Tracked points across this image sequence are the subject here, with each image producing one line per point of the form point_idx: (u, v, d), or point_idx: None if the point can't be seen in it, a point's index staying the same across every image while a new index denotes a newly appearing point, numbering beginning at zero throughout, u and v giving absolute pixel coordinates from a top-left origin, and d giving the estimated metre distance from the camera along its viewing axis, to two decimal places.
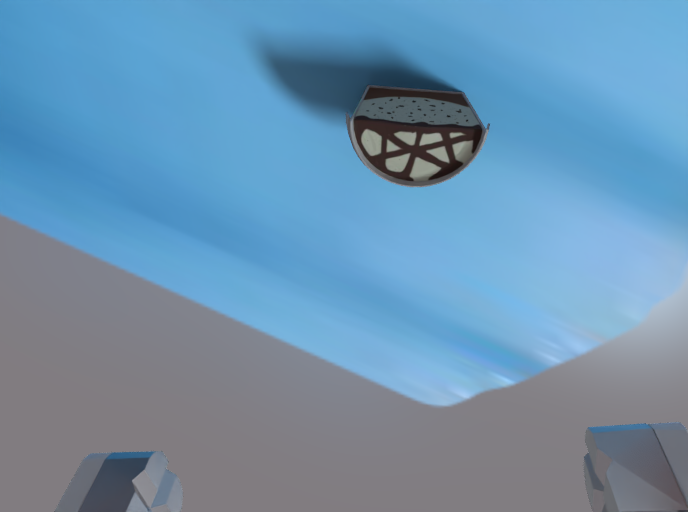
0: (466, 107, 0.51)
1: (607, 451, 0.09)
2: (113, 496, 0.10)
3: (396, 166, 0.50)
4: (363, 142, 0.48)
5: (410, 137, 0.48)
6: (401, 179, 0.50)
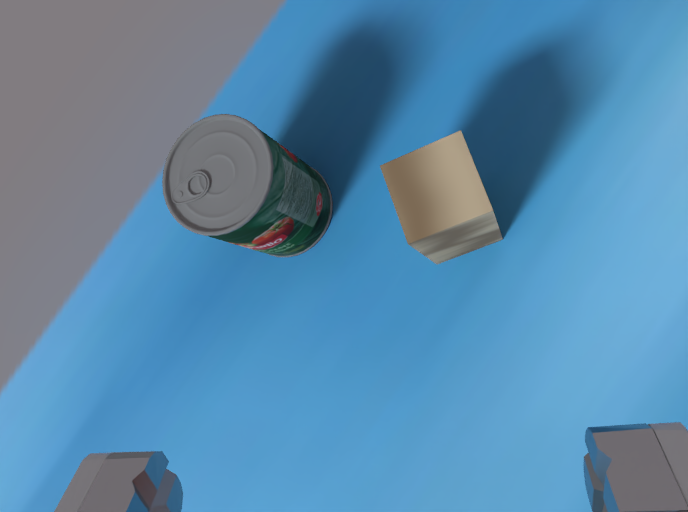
0: None
1: (607, 451, 0.09)
2: (113, 496, 0.10)
3: None
4: None
5: None
6: None
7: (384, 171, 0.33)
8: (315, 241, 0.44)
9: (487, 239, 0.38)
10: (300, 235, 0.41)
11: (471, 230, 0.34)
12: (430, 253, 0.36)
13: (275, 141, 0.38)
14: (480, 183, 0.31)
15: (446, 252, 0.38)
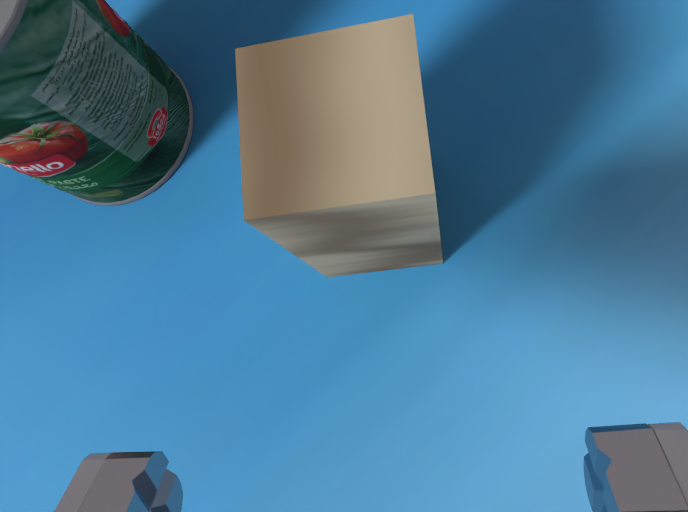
0: None
1: (607, 451, 0.09)
2: (113, 496, 0.10)
3: None
4: None
5: None
6: None
7: (240, 62, 0.16)
8: (146, 190, 0.26)
9: (416, 256, 0.22)
10: (108, 170, 0.24)
11: (386, 229, 0.17)
12: (307, 254, 0.20)
13: None
14: (423, 130, 0.14)
15: (340, 260, 0.21)
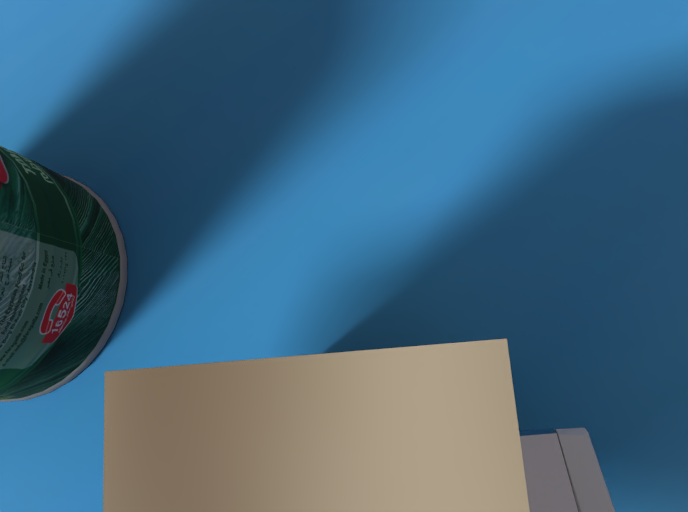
0: None
1: None
2: None
3: None
4: None
5: None
6: None
7: (114, 405, 0.07)
8: (54, 385, 0.18)
9: None
10: None
11: None
12: None
13: None
14: None
15: None
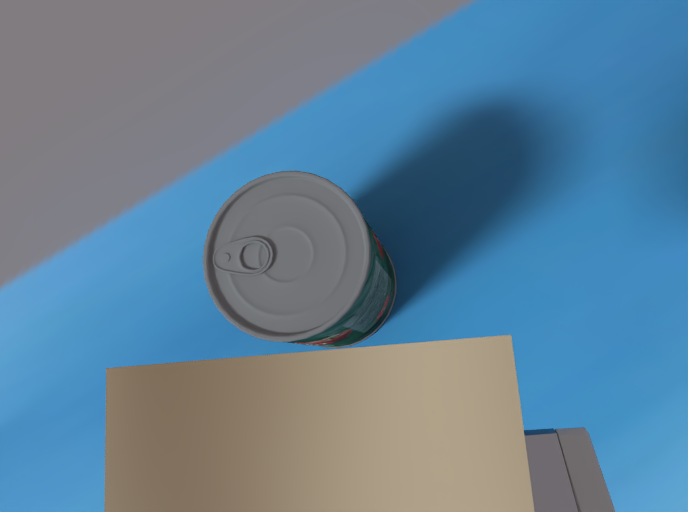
0: None
1: None
2: None
3: None
4: None
5: None
6: None
7: (116, 402, 0.07)
8: (356, 342, 0.35)
9: None
10: (347, 340, 0.32)
11: None
12: None
13: None
14: None
15: None
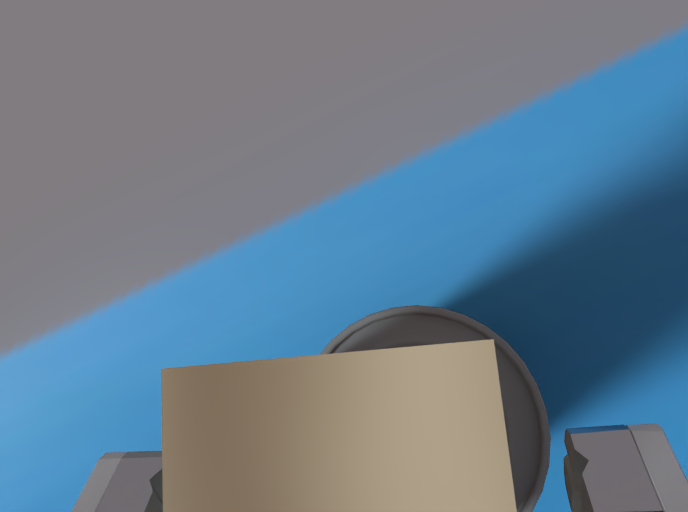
0: None
1: (584, 452, 0.09)
2: (131, 495, 0.10)
3: None
4: None
5: None
6: None
7: (170, 397, 0.09)
8: None
9: None
10: None
11: None
12: None
13: None
14: None
15: None
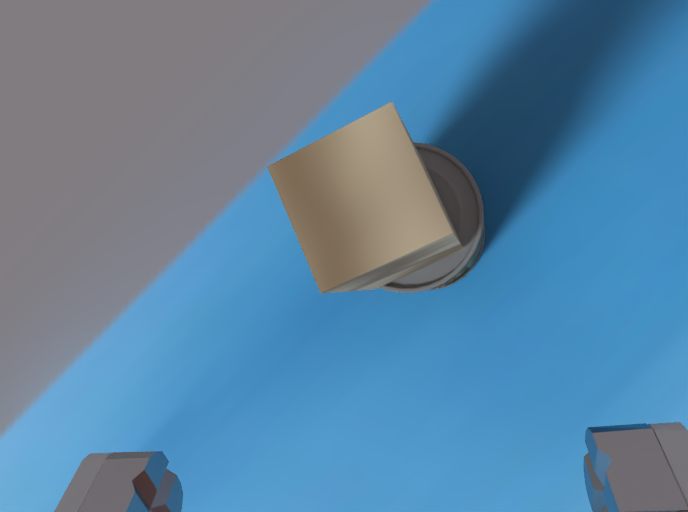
0: None
1: (607, 451, 0.09)
2: (113, 496, 0.10)
3: None
4: None
5: None
6: None
7: (275, 175, 0.20)
8: (460, 278, 0.39)
9: (443, 255, 0.26)
10: (458, 278, 0.36)
11: (420, 256, 0.22)
12: (362, 287, 0.24)
13: None
14: (429, 188, 0.19)
15: (386, 279, 0.26)
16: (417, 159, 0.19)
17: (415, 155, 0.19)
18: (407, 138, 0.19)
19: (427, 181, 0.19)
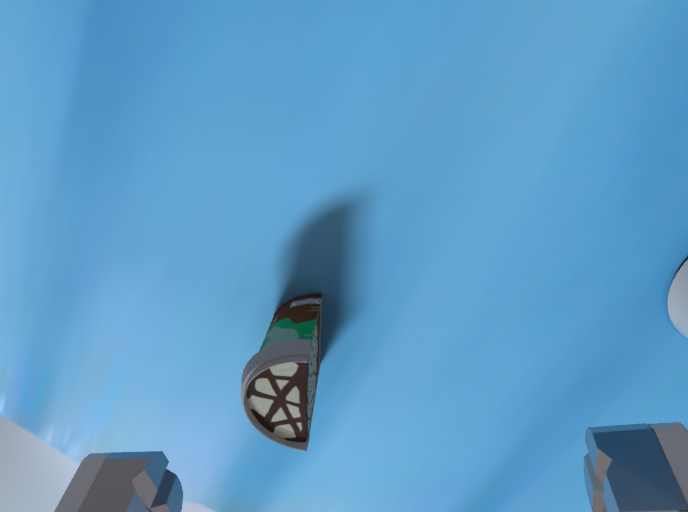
0: (314, 392, 0.55)
1: (607, 451, 0.09)
2: (113, 496, 0.10)
3: (260, 385, 0.48)
4: None
5: (294, 399, 0.48)
6: (247, 390, 0.48)
7: None
8: None
9: None
10: None
11: None
12: None
13: None
14: None
15: None
16: None
17: None
18: None
19: None
